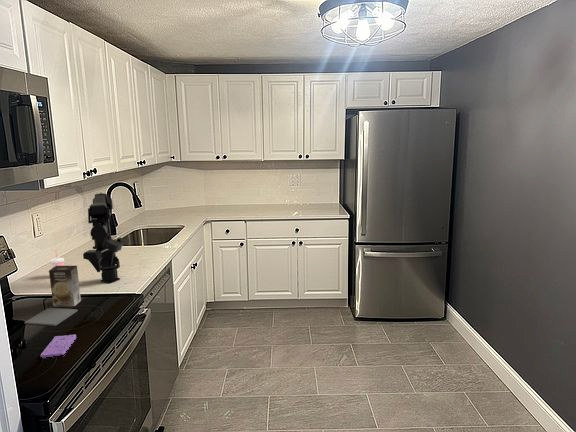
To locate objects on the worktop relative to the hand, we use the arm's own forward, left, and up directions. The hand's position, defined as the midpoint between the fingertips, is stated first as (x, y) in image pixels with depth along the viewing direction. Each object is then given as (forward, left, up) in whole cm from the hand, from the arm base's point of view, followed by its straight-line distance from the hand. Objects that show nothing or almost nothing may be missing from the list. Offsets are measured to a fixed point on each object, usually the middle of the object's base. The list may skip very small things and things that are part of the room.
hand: (104, 268), depth 179 cm
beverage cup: (-6, -44, -13) cm, 46 cm away
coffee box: (+13, -9, -13) cm, 21 cm away
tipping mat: (+24, -2, -13) cm, 27 cm away
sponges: (+37, +22, -14) cm, 45 cm away
